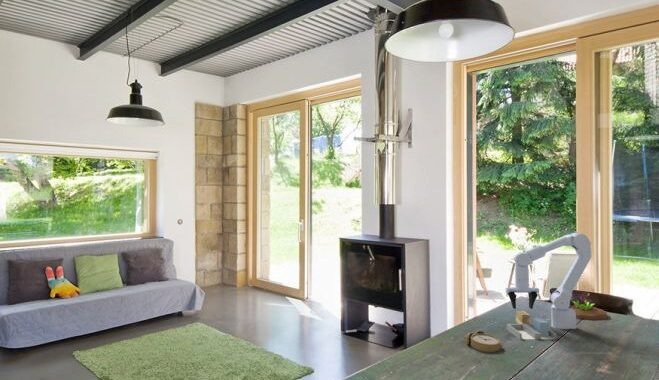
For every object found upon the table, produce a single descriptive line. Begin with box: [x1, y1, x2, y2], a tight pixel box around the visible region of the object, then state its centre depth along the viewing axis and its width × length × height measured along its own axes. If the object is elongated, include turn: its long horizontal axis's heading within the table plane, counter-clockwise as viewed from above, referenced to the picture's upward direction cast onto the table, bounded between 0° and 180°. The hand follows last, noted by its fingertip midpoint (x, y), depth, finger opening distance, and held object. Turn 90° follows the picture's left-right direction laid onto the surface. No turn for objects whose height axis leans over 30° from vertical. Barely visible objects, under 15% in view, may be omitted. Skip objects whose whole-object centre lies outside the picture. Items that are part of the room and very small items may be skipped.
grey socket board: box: [506, 323, 558, 340], centre depth 184 cm, size 15×14×3 cm
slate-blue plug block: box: [531, 317, 550, 337], centre depth 183 cm, size 4×7×6 cm, turn 178°
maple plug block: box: [515, 310, 531, 324], centre depth 198 cm, size 4×7×6 cm, turn 178°
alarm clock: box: [463, 330, 504, 353], centre depth 173 cm, size 11×5×15 cm
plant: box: [569, 291, 608, 321], centre depth 215 cm, size 20×20×11 cm
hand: (522, 308), depth 198 cm, fingers open, 7 cm apart
